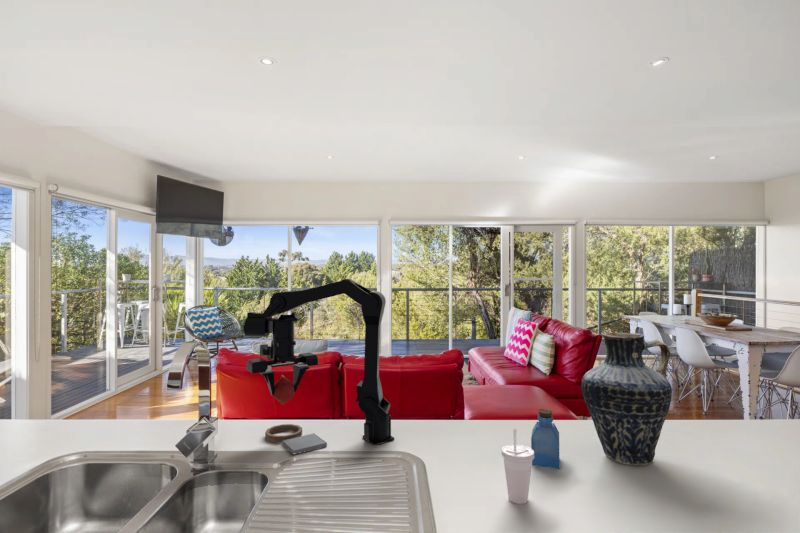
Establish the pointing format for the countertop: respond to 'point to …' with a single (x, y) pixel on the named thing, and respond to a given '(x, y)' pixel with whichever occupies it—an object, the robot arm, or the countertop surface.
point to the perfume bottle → (545, 441)
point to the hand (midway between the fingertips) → (283, 393)
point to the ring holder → (282, 428)
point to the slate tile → (304, 443)
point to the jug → (628, 398)
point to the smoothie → (517, 470)
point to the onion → (283, 390)
